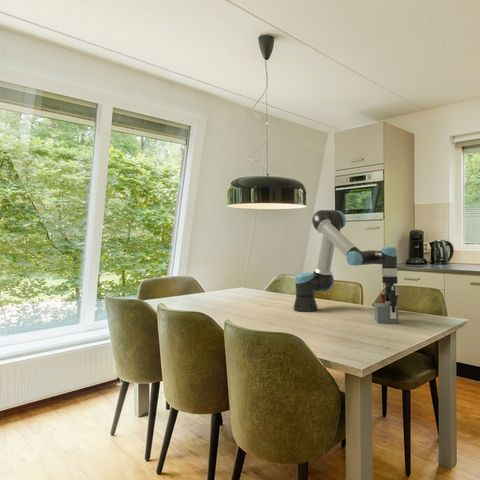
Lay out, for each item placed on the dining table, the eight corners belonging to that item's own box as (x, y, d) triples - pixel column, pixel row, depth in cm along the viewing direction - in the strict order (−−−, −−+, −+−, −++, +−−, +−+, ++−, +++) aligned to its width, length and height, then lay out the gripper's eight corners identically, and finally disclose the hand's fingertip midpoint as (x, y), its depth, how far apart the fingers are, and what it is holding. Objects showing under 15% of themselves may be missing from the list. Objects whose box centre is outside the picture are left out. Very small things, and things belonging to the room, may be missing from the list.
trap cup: (377, 323, 196) (377, 306, 196) (374, 319, 206) (374, 303, 206) (398, 323, 194) (398, 306, 194) (394, 319, 204) (394, 303, 204)
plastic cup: (401, 314, 217) (401, 293, 217) (382, 314, 219) (381, 293, 219) (397, 311, 227) (397, 291, 227) (379, 310, 229) (378, 291, 229)
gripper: (402, 278, 187) (403, 321, 187) (392, 273, 211) (393, 311, 211) (386, 278, 188) (387, 320, 188) (378, 273, 212) (379, 311, 213)
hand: (390, 315), depth 200 cm, fingers open, 13 cm apart
